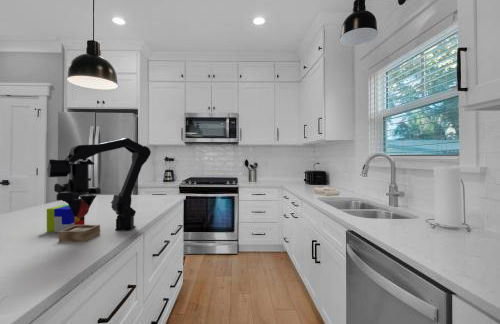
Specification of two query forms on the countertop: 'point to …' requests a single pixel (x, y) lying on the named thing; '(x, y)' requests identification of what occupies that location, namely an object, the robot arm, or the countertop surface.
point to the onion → (83, 209)
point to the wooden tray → (79, 233)
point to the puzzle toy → (62, 218)
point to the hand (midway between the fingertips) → (80, 214)
